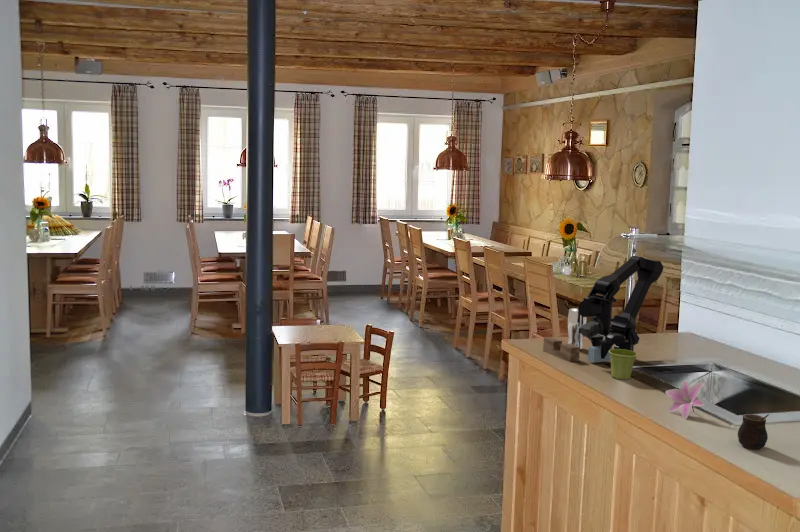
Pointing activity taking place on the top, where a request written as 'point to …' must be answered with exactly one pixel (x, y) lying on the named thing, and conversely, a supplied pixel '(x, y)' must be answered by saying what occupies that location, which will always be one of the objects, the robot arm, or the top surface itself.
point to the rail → (561, 349)
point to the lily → (685, 398)
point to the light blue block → (597, 354)
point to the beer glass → (575, 327)
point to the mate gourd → (753, 431)
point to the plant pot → (622, 363)
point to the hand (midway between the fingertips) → (599, 357)
